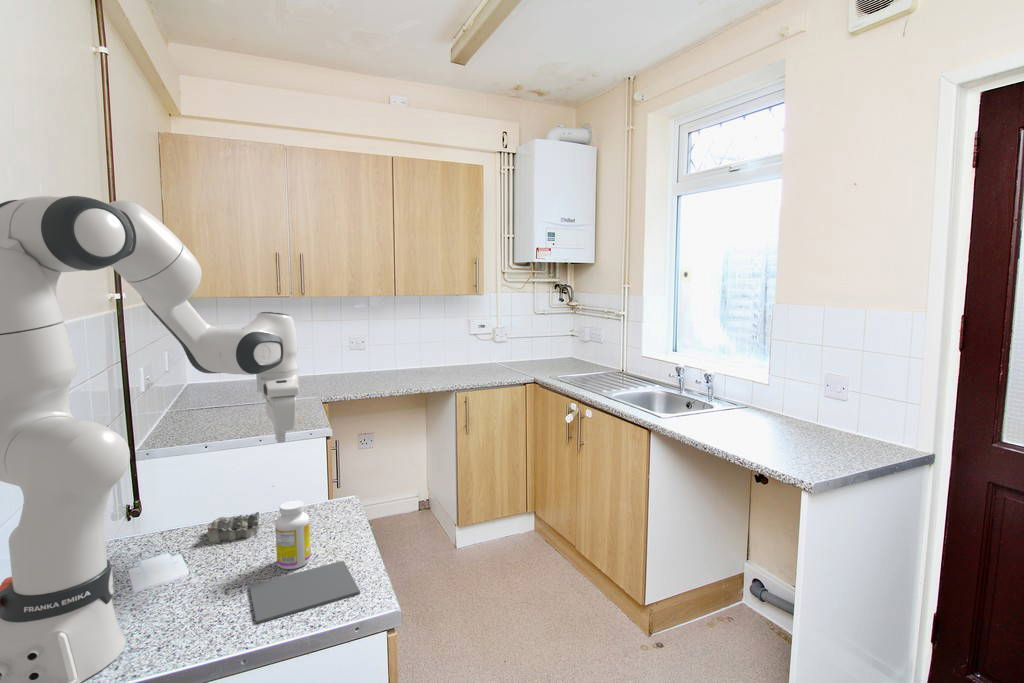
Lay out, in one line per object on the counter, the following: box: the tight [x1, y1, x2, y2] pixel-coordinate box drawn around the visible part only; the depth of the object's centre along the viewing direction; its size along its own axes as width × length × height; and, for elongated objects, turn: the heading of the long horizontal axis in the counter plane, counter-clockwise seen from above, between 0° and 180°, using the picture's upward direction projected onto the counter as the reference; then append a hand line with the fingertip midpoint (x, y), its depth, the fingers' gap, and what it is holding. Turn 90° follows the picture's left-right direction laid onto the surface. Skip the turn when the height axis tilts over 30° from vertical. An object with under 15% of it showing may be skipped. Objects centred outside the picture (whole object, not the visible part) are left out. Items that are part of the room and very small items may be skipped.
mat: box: [249, 560, 361, 625], centre depth 101 cm, size 18×13×1 cm
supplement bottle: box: [274, 500, 312, 570], centre depth 111 cm, size 7×7×13 cm
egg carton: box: [207, 511, 260, 544], centre depth 124 cm, size 11×8×4 cm
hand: (280, 441), depth 122 cm, fingers closed
